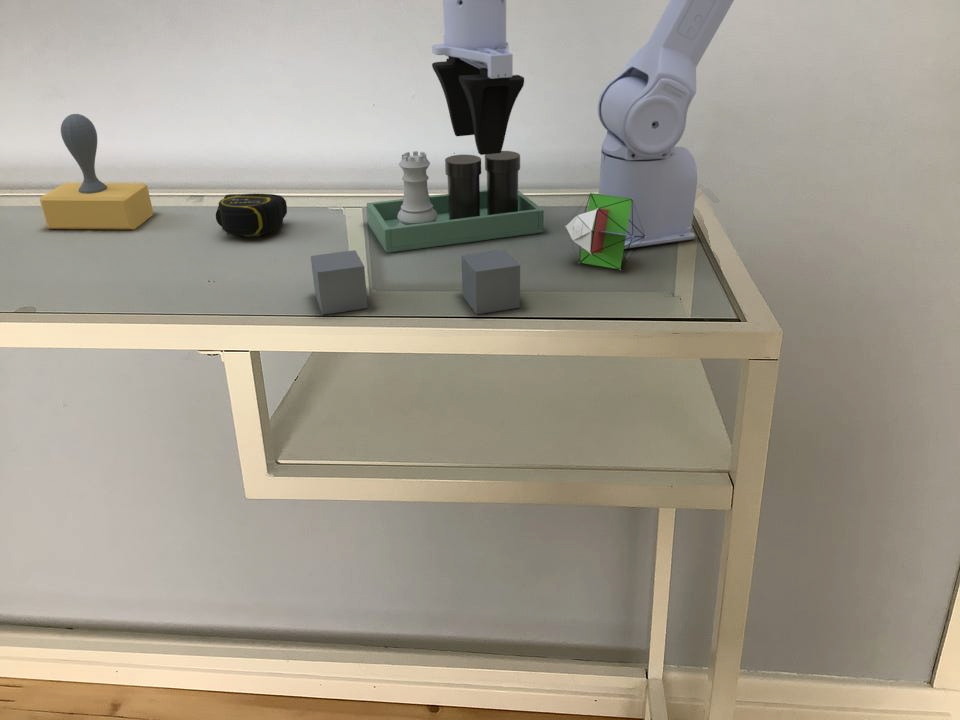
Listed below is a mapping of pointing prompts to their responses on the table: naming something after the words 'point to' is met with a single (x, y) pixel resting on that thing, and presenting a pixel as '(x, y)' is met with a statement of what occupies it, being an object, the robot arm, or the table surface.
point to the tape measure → (251, 213)
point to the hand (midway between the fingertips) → (477, 143)
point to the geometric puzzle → (603, 230)
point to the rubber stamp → (93, 189)
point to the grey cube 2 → (491, 281)
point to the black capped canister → (502, 182)
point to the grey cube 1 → (339, 282)
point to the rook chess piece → (415, 191)
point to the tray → (451, 224)
